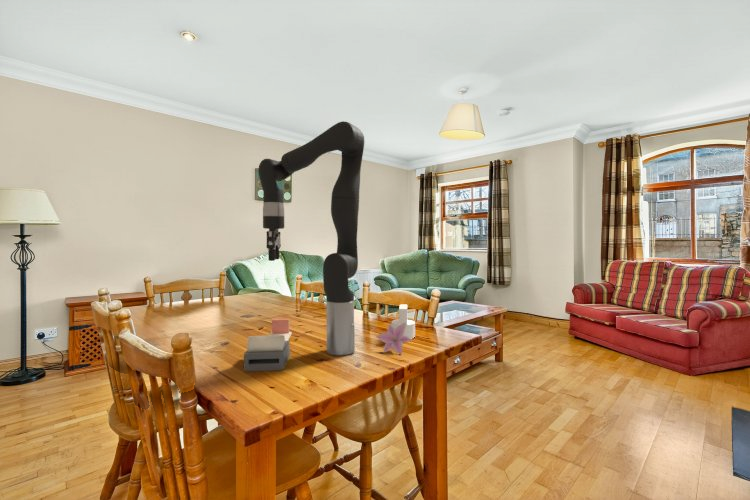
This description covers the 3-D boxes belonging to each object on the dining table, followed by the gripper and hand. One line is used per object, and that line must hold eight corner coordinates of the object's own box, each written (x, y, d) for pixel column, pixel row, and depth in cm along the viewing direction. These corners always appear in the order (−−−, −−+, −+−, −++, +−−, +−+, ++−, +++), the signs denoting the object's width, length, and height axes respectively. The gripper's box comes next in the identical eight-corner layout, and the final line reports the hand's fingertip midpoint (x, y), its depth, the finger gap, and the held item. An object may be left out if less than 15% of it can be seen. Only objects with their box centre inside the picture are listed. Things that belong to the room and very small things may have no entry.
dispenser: (290, 354, 116) (289, 326, 116) (283, 369, 102) (283, 339, 102) (255, 355, 115) (255, 327, 114) (244, 371, 101) (243, 340, 100)
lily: (373, 350, 123) (371, 332, 118) (395, 333, 129) (393, 315, 124) (396, 367, 116) (395, 348, 111) (418, 349, 122) (417, 330, 117)
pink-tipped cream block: (291, 333, 132) (291, 318, 132) (283, 350, 113) (283, 332, 112) (270, 333, 132) (270, 319, 131) (258, 351, 112) (258, 333, 112)
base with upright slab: (392, 334, 140) (392, 304, 139) (414, 334, 139) (415, 304, 138) (390, 340, 131) (390, 308, 130) (415, 341, 130) (415, 309, 130)
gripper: (281, 214, 122) (281, 261, 122) (287, 216, 136) (287, 258, 136) (258, 214, 121) (259, 261, 121) (267, 216, 135) (267, 258, 136)
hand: (274, 259), depth 129 cm, fingers open, 8 cm apart
